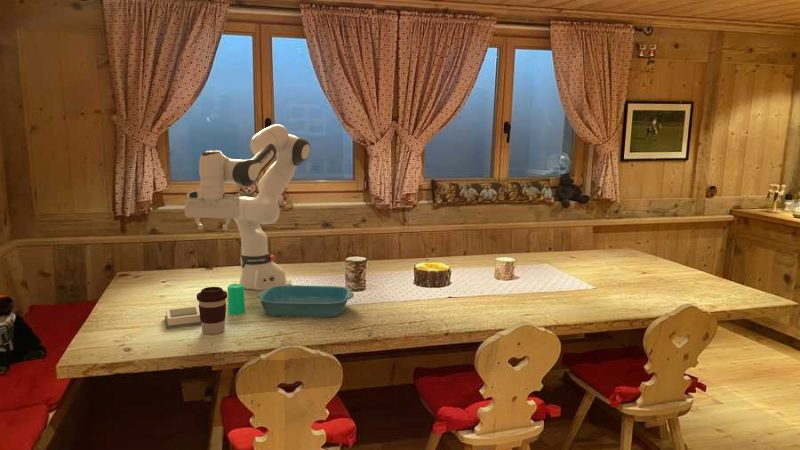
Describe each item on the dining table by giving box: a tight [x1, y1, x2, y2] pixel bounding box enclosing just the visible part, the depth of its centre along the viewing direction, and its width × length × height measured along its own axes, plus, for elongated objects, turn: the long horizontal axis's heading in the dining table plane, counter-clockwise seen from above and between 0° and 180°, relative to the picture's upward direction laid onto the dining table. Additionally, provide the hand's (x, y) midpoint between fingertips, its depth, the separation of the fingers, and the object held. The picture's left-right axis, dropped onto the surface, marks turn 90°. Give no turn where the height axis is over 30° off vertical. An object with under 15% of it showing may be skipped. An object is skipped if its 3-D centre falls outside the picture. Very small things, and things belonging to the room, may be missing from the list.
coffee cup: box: [196, 286, 228, 335], centre depth 193 cm, size 10×10×15 cm
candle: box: [227, 283, 246, 316], centre depth 213 cm, size 6×6×12 cm
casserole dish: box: [256, 284, 354, 318], centre depth 218 cm, size 37×22×7 cm, turn 89°
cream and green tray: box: [164, 305, 202, 329], centre depth 204 cm, size 15×11×4 cm
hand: (212, 229), depth 216 cm, fingers open, 8 cm apart
